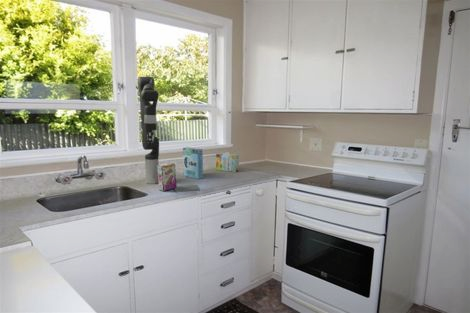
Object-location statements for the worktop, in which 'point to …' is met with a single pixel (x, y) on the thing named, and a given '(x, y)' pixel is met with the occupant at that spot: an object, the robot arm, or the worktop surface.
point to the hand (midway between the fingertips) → (150, 148)
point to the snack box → (227, 162)
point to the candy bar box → (166, 176)
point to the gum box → (193, 162)
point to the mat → (186, 188)
